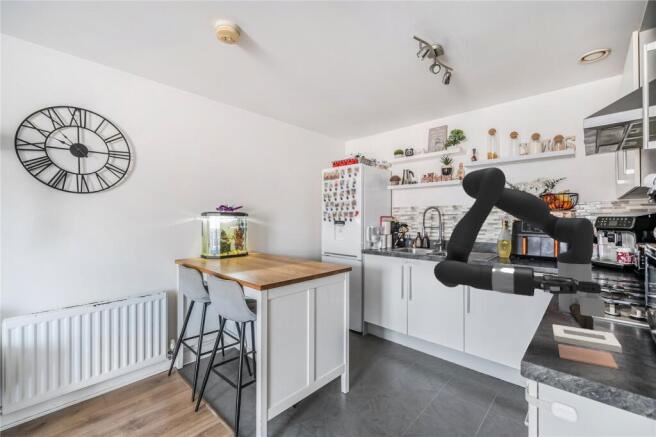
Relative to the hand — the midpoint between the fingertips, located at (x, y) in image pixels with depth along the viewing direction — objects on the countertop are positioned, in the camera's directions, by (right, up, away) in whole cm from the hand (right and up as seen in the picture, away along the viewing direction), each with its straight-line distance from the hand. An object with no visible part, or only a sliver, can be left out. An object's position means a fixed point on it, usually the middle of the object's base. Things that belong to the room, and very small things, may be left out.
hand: (599, 288), depth 68 cm
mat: (-2, -17, +2) cm, 17 cm away
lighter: (-2, -7, +2) cm, 7 cm away
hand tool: (+17, -17, +22) cm, 33 cm away
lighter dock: (+6, -17, +11) cm, 21 cm away
